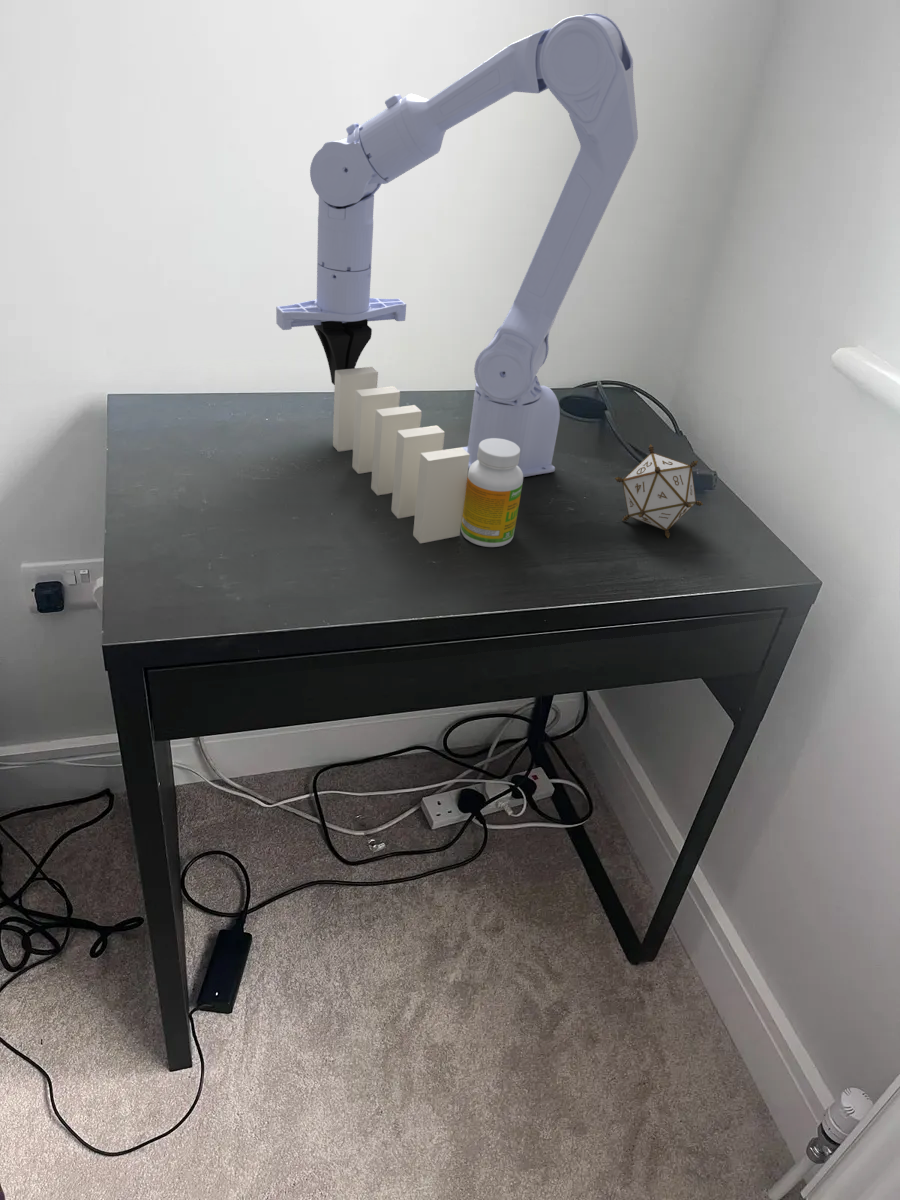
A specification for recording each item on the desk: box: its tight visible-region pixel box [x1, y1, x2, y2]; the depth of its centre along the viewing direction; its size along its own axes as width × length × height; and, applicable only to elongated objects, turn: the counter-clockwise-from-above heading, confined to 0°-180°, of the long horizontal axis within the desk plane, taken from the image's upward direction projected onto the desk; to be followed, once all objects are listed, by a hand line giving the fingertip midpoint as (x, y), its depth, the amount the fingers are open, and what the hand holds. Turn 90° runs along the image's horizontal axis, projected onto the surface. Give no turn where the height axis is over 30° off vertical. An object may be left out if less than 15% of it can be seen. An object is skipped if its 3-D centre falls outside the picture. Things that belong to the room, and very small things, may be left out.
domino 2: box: [351, 385, 401, 474], centre depth 99 cm, size 4×2×9 cm, turn 119°
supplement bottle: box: [460, 438, 524, 548], centre depth 89 cm, size 5×5×10 cm
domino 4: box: [390, 425, 446, 519], centre depth 92 cm, size 4×2×9 cm, turn 119°
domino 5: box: [412, 446, 470, 544], centre depth 88 cm, size 4×2×9 cm, turn 119°
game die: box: [614, 443, 704, 539], centre depth 95 cm, size 9×8×10 cm
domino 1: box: [332, 366, 379, 452], centre depth 103 cm, size 4×2×9 cm, turn 119°
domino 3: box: [370, 404, 423, 496], centre depth 95 cm, size 4×2×9 cm, turn 119°
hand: (340, 385), depth 105 cm, fingers closed
